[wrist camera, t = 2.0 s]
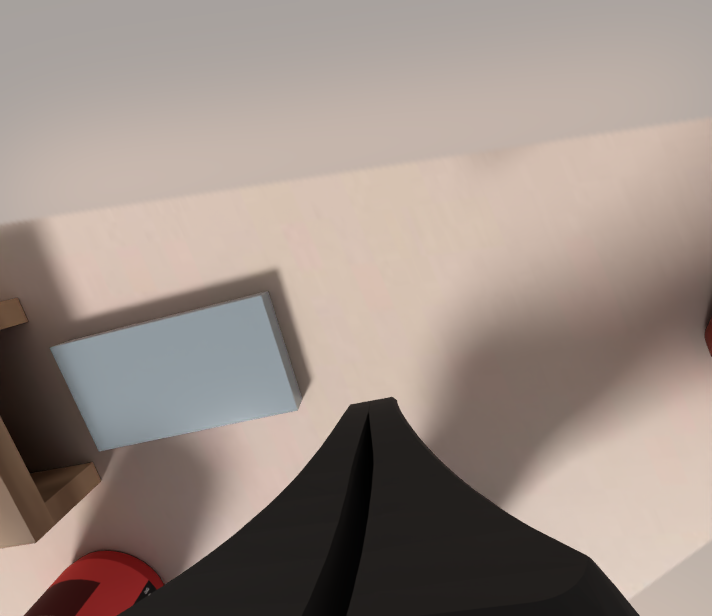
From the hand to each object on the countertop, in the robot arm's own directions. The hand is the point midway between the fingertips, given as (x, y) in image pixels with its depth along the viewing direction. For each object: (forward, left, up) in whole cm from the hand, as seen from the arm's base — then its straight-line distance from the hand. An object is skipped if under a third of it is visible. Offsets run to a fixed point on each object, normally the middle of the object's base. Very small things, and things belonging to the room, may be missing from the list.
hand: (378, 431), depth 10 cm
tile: (-6, +10, -11) cm, 16 cm away
